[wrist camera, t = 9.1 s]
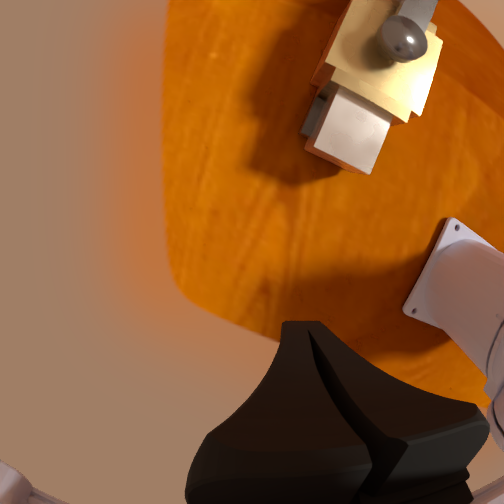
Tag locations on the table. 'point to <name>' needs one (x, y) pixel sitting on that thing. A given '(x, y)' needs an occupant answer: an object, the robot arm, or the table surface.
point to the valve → (364, 88)
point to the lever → (406, 31)
